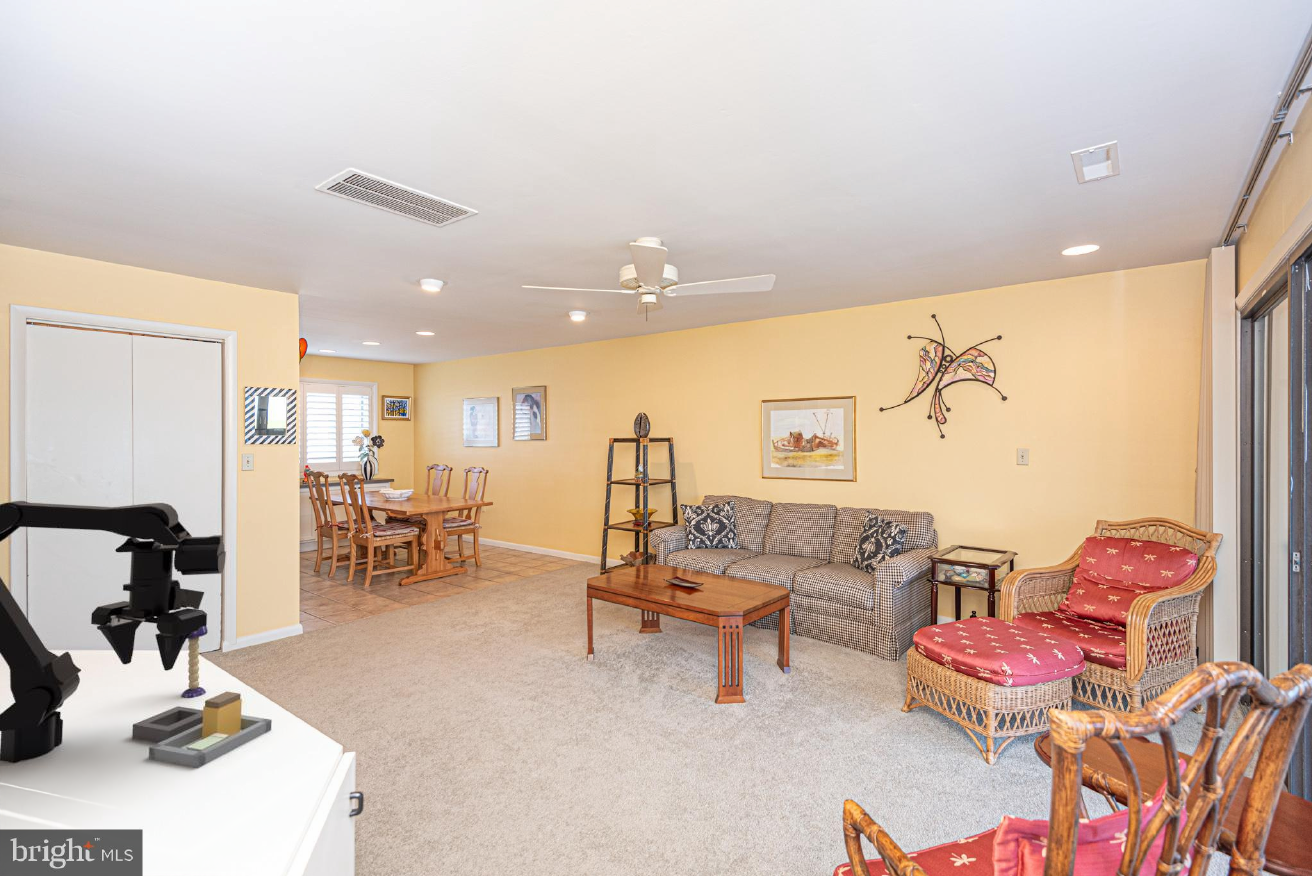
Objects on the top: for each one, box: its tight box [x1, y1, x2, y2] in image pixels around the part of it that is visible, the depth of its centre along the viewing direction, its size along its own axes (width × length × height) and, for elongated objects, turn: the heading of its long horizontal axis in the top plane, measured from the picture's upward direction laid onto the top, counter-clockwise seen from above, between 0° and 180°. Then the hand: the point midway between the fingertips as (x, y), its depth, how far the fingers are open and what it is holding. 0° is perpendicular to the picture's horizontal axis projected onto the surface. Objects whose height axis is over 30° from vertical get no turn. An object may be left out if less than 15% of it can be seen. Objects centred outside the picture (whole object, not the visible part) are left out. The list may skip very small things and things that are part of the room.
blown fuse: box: [201, 691, 243, 740], centre depth 110 cm, size 5×3×7 cm
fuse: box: [186, 733, 229, 752], centre depth 104 cm, size 5×3×2 cm, turn 167°
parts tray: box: [148, 714, 273, 769], centre depth 107 cm, size 14×10×2 cm
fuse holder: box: [131, 705, 203, 744], centre depth 111 cm, size 8×8×3 cm
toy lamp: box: [180, 625, 209, 699], centre depth 127 cm, size 5×5×17 cm
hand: (147, 666), depth 109 cm, fingers open, 9 cm apart
